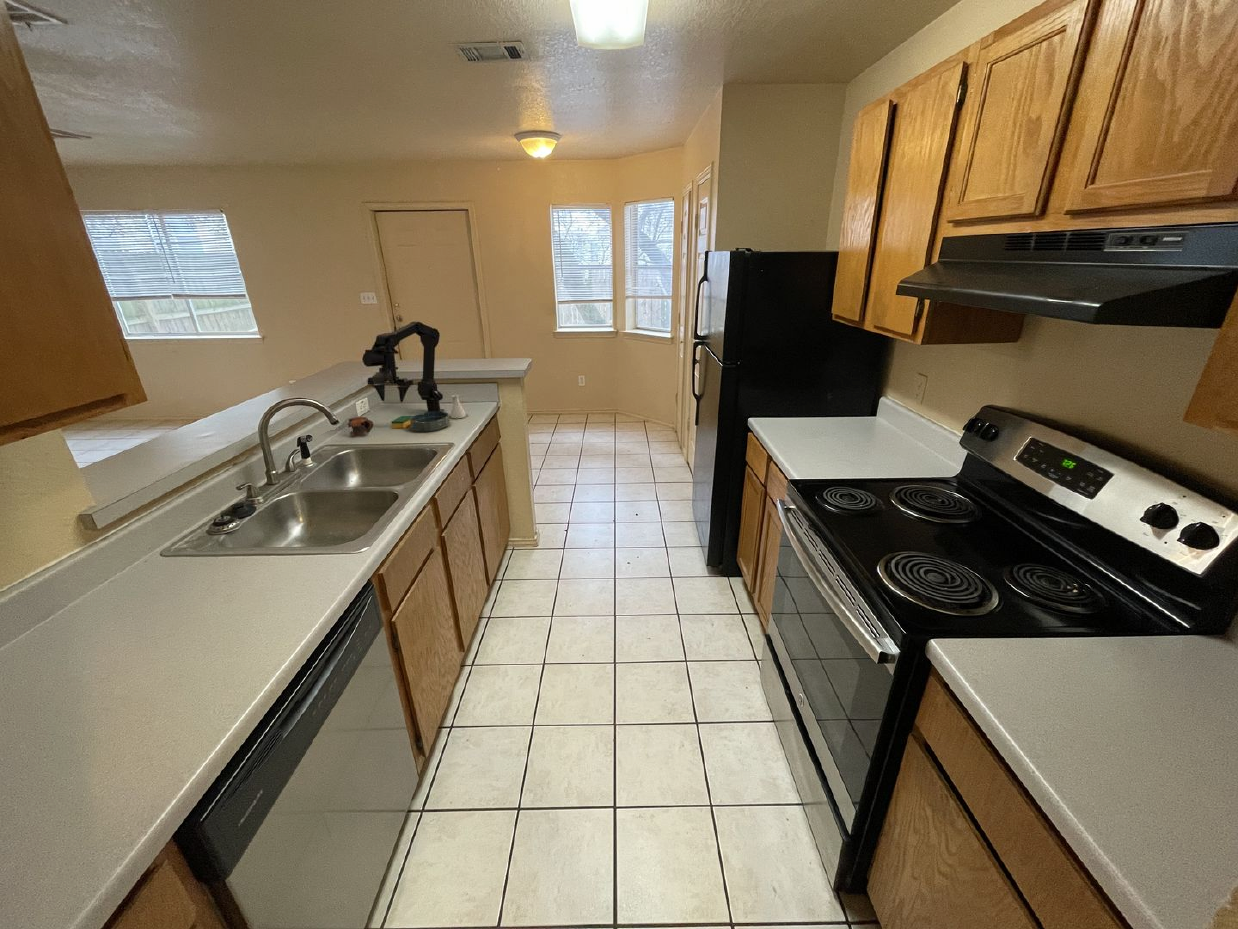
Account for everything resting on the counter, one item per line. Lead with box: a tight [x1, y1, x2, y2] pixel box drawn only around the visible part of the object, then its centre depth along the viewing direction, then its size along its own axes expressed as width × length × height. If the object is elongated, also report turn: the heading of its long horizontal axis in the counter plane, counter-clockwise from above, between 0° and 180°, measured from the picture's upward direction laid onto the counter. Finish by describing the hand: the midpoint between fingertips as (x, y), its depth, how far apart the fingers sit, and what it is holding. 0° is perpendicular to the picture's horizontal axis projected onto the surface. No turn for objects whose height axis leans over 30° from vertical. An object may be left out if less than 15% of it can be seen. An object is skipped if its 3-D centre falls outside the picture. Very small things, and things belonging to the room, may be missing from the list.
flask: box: [450, 394, 467, 419], centre depth 233 cm, size 7×7×10 cm
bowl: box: [410, 411, 451, 433], centre depth 221 cm, size 16×16×4 cm
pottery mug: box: [346, 416, 374, 438], centre depth 215 cm, size 12×10×8 cm
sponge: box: [391, 415, 414, 429], centre depth 225 cm, size 9×6×3 cm, turn 173°
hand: (392, 401), depth 220 cm, fingers open, 9 cm apart
